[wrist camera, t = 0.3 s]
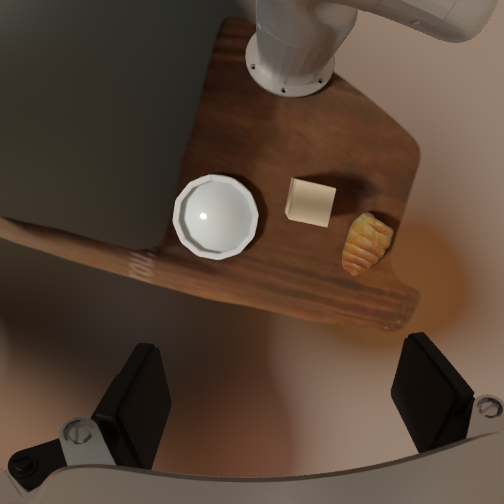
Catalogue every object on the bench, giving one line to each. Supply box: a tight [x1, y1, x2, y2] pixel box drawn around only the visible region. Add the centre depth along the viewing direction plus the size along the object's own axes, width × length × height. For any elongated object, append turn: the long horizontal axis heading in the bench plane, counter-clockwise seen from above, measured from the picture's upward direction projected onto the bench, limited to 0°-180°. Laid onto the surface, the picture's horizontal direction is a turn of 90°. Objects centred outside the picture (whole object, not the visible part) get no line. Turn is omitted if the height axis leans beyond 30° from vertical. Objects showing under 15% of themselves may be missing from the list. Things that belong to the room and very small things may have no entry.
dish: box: [173, 174, 259, 260], centre depth 42 cm, size 12×12×1 cm
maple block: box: [285, 178, 336, 227], centre depth 39 cm, size 5×5×6 cm
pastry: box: [342, 212, 394, 276], centre depth 42 cm, size 9×7×4 cm
